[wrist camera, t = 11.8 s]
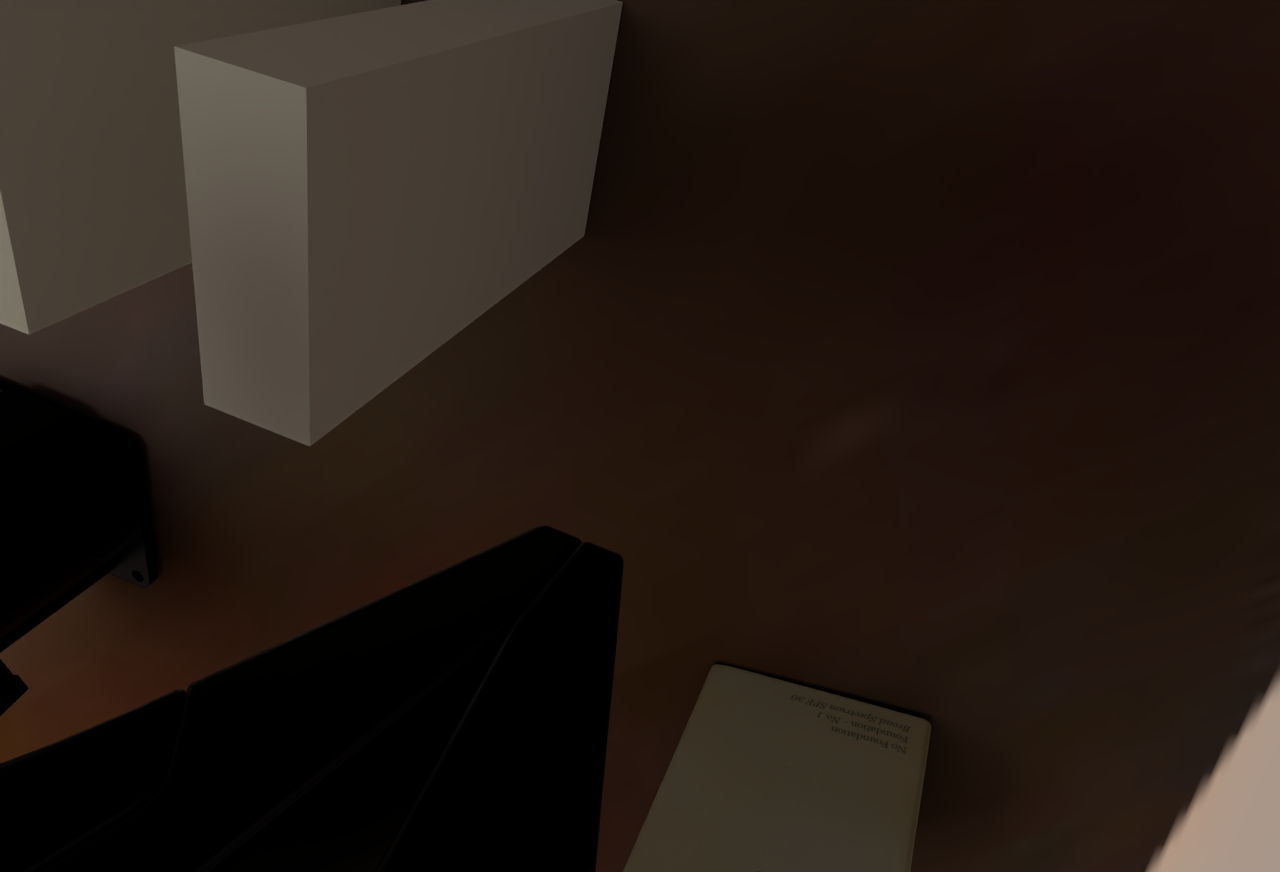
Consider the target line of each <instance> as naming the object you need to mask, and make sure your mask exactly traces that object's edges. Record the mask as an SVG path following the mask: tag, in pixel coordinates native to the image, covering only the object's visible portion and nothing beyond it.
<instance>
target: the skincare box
mask: <svg viewBox="0 0 1280 872" xmlns="http://www.w3.org/2000/svg"><path fill="white" fill-rule="evenodd" d="M930 733H931V724H930V723H929V721H927V720H925V719H922V718H919V717H915V716H912V715H908V714H904V713H901V712H897V711H893V710H890V709H886V708H883V707H879V706H875V705H872V704H868V703H864V702H861V701H857V700H853V699H850V698H846V697H842V696H839V695H835V694H831V693H827V692H824V691H820V690H816V689H813V688H809V687H805V686H801V685H798V684H794V683H790V682H786V681H783V680H779V679H775V678H772V677H768V676H765V675H761V674H757V673H754V672H750V671H746V670H742V669H738V668H734V667H730V666H726V665H720V664H715V665H713V666H712V668H711V670H710V672H709V674H708V676H707V679H706V681H705V683H704V686H703V688H702V691H701V693H700V695H699V698H698V700H697V702H696V705H695V707H694V710H693V712H692V714H691V716H690V719H689V721H688V723H687V726H686V728H685V730H684V732H683V735H682V737H681V740H680V742H679V744H678V747H677V749H676V751H675V754H674V756H673V758H672V761H671V763H670V765H669V767H668V770H667V772H666V775H665V777H664V779H663V782H662V784H661V786H660V788H659V790H658V793H657V795H656V798H655V800H654V802H653V804H652V807H651V809H650V811H649V814H648V816H647V818H646V820H645V823H644V825H643V827H642V829H641V832H640V834H639V836H638V838H637V841H636V843H635V846H634V848H633V850H632V853H631V855H630V857H629V860H628V862H627V864H626V866H625V869H624V871H623V872H910V870H911V862H912V855H913V848H914V841H915V835H916V828H917V822H918V815H919V808H920V802H921V795H922V789H923V782H924V775H925V768H926V761H927V754H928V747H929V740H930Z"/></svg>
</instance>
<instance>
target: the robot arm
mask: <svg viewBox="0 0 1280 872" xmlns="http://www.w3.org/2000/svg"><path fill="white" fill-rule="evenodd" d="M108 573H111V574H113V575H115V576H117V577H120V578H122V579H124V580H126V581H129V582H131V583H133V584H135V585H137V586H140V587H143V588H144V587H148V586H149V585H150V584H151V583H153V582H154V581H155V580H156V579H157V578H158V571H157V564H156V556H155V549H154V541H153V534H152V526H151V519H150V511H149V503H148V496H147V488H146V481H145V473H144V466H143V458H142V451H141V447H140V444H139V443H138V441H137V440H136V439H135V438H134V437H133V436H132V435H131V434H129V433H127V432H125V431H123V430H120V429H118V428H116V427H113V426H111V425H108V424H106V423H104V422H101V421H99V420H96V419H94V418H91V417H89V416H87V415H84V414H82V413H79V412H77V411H75V410H72V409H70V408H67V407H65V406H62V405H60V404H58V403H55V402H53V401H50V400H48V399H46V398H43V397H41V396H38V395H36V394H34V393H31V392H29V391H26V390H24V389H21V388H19V387H17V386H14V385H12V384H9V383H7V382H5V381H2V380H0V653H1V652H2V651H3V650H5V649H6V648H7V647H9V646H10V645H11V644H13V643H14V642H15V641H17V640H18V639H20V638H21V637H22V636H24V635H25V634H26V633H28V632H29V631H30V630H32V629H33V628H34V627H36V626H37V625H39V624H40V623H41V622H43V621H44V620H45V619H47V618H48V617H49V616H51V615H52V614H53V613H55V612H56V611H57V610H59V609H60V608H62V607H63V606H64V605H66V604H67V603H68V602H70V601H71V600H72V599H74V598H75V597H76V596H78V595H79V594H81V593H82V592H83V591H85V590H86V589H87V588H89V587H90V586H91V585H93V584H94V583H95V582H97V581H98V580H100V579H101V578H102V577H104V576H105V575H106V574H108ZM622 576H623V558H622V557H621V555H619V554H617V553H614V552H612V551H609V550H607V549H604V548H602V547H599V546H597V545H594V544H592V543H589V542H585V543H582V542H581V540H580V539H578V538H577V537H574V536H572V535H569V534H567V533H564V532H562V531H559V530H557V529H554V528H551V527H549V526H539V527H536V528H533V529H531V530H529V531H527V532H525V533H522V534H520V535H518V536H516V537H514V538H511V539H509V540H507V541H505V542H503V543H500V544H498V545H496V546H494V547H491V548H489V549H487V550H485V551H483V552H480V553H478V554H476V555H474V556H472V557H469V558H467V559H465V560H463V561H461V562H458V563H456V564H454V565H452V566H450V567H447V568H445V569H443V570H441V571H438V572H436V573H434V574H432V575H430V576H427V577H425V578H423V579H421V580H419V581H416V582H414V583H412V584H410V585H408V586H405V587H403V588H401V589H399V590H397V591H394V592H392V593H390V594H388V595H385V596H383V597H381V598H379V599H377V600H374V601H372V602H370V603H368V604H366V605H363V606H361V607H359V608H357V609H355V610H352V611H350V612H348V613H346V614H343V615H341V616H339V617H337V618H335V619H332V620H330V621H328V622H326V623H324V624H321V625H319V626H317V627H315V628H313V629H310V630H308V631H306V632H304V633H302V634H299V635H297V636H295V637H293V638H290V639H288V640H286V641H284V642H282V643H279V644H277V645H275V646H273V647H271V648H268V649H266V650H264V651H262V652H260V653H257V654H255V655H253V656H251V657H249V658H246V659H244V660H242V661H240V662H237V663H235V664H233V665H231V666H229V667H226V668H224V669H222V670H220V671H218V672H215V673H213V674H211V675H209V676H207V677H204V678H202V679H200V680H198V681H195V682H193V683H191V684H190V685H189V687H188V689H187V693H186V692H185V691H184V690H182V689H177V690H175V691H173V692H170V693H168V694H166V695H164V696H161V697H159V698H157V699H155V700H153V701H150V702H148V703H146V704H144V705H142V706H139V707H137V708H135V709H133V710H130V711H128V712H126V713H123V714H121V715H119V716H116V717H114V718H112V719H109V720H107V721H105V722H102V723H100V724H98V725H95V726H93V727H91V728H88V729H86V730H84V731H81V732H79V733H77V734H74V735H72V736H70V737H67V738H65V739H63V740H60V741H58V742H56V743H53V744H50V745H48V746H45V747H43V748H40V749H37V750H35V751H32V752H29V753H27V754H24V755H21V756H19V757H16V758H14V759H11V760H8V761H6V762H3V763H0V872H596V864H597V853H598V842H599V831H600V820H601V809H602V798H603V787H604V776H605V765H606V754H607V743H608V731H609V720H610V709H611V698H612V687H613V676H614V665H615V654H616V643H617V632H618V621H619V610H620V599H621V588H622ZM27 690H28V687H27V685H26V684H25V683H24V682H23V681H22V679H21V678H20V677H19V676H18V675H13V674H12V673H11V671H10V670H9V669H8V668H7V667H6V665H5V664H4V663H3V662H2V660H1V659H0V716H1V715H2V714H3V713H4V712H5V711H6V710H7V709H8V708H9V707H10V706H11V705H12V704H13V703H14V702H16V701H17V700H18V699H19V698H20V697H21V696H22V695H23V694H24V693H25V692H26V691H27Z"/></svg>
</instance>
